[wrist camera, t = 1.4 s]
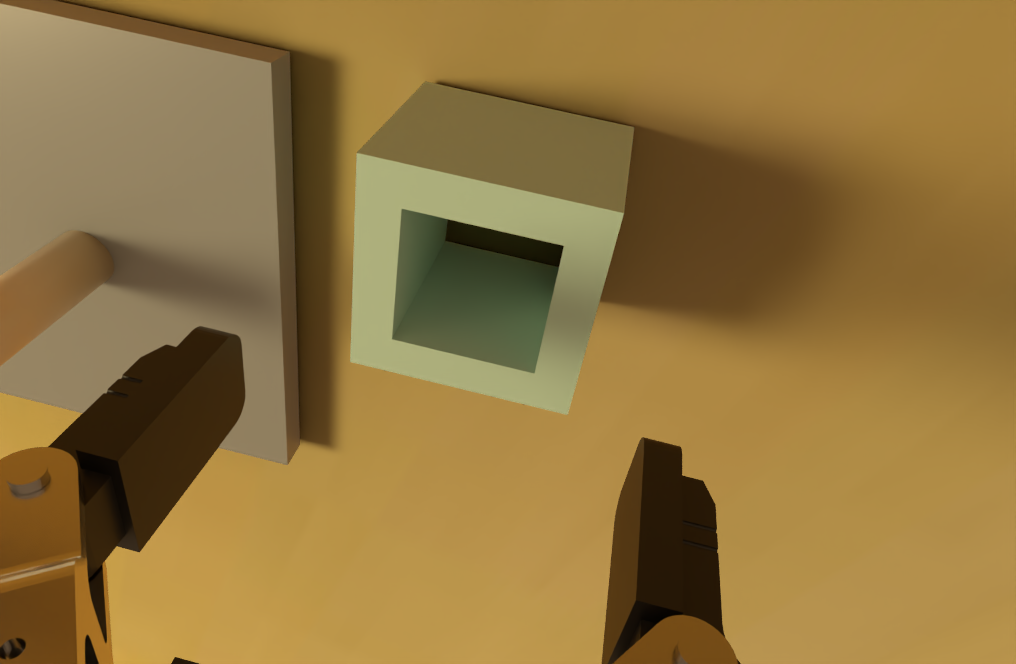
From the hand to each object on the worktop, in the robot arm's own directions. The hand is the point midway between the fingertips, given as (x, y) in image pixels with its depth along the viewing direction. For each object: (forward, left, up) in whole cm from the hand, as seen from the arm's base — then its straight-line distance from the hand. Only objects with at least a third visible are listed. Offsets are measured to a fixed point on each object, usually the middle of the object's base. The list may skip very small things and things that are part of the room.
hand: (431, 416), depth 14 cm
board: (+5, -14, -10) cm, 18 cm away
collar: (0, 0, -10) cm, 10 cm away
